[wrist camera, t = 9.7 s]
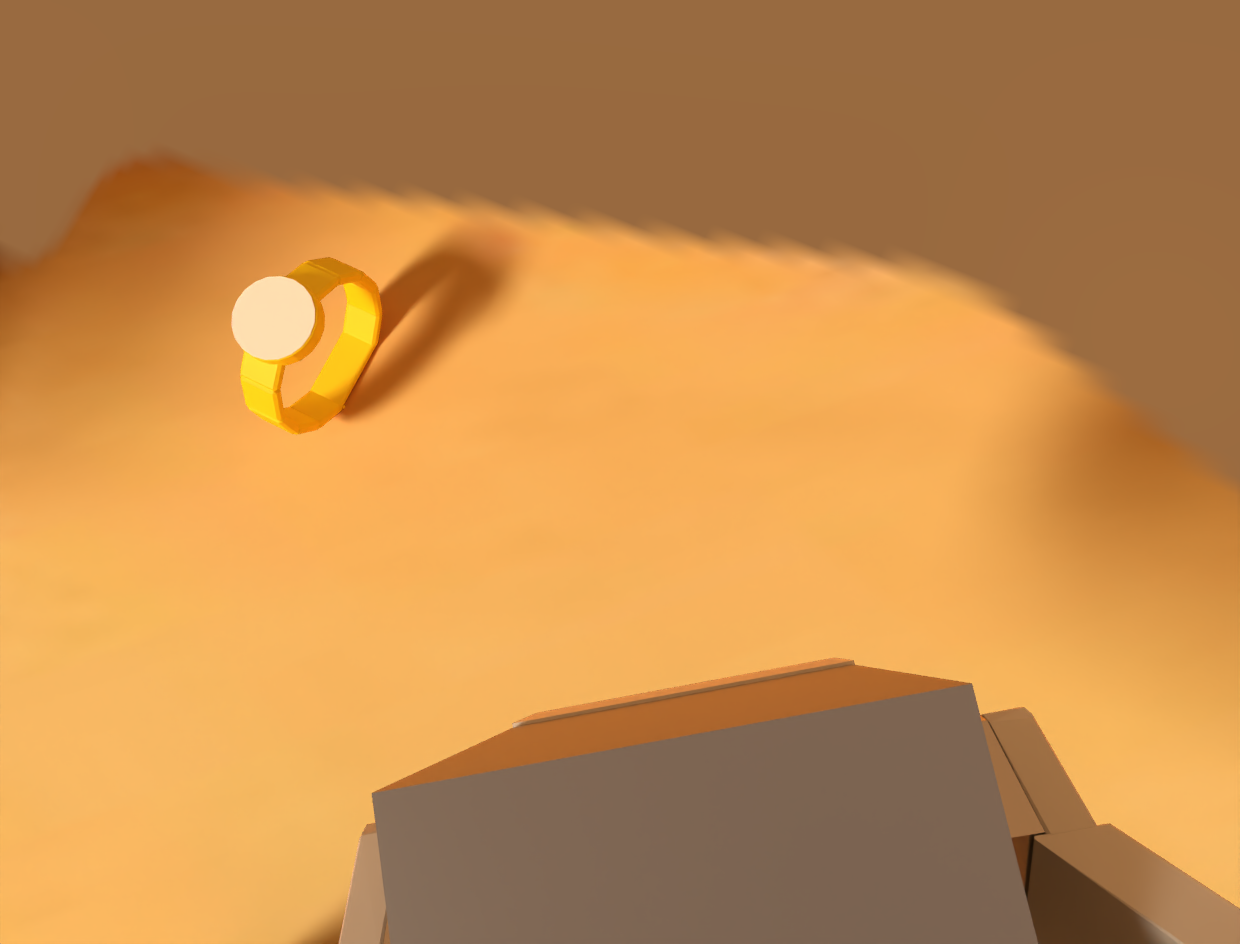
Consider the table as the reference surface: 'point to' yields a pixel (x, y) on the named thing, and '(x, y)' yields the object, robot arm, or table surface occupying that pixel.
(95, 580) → the table surface
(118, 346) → the table surface
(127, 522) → the table surface
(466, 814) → the block
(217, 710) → the table surface
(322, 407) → the watch
